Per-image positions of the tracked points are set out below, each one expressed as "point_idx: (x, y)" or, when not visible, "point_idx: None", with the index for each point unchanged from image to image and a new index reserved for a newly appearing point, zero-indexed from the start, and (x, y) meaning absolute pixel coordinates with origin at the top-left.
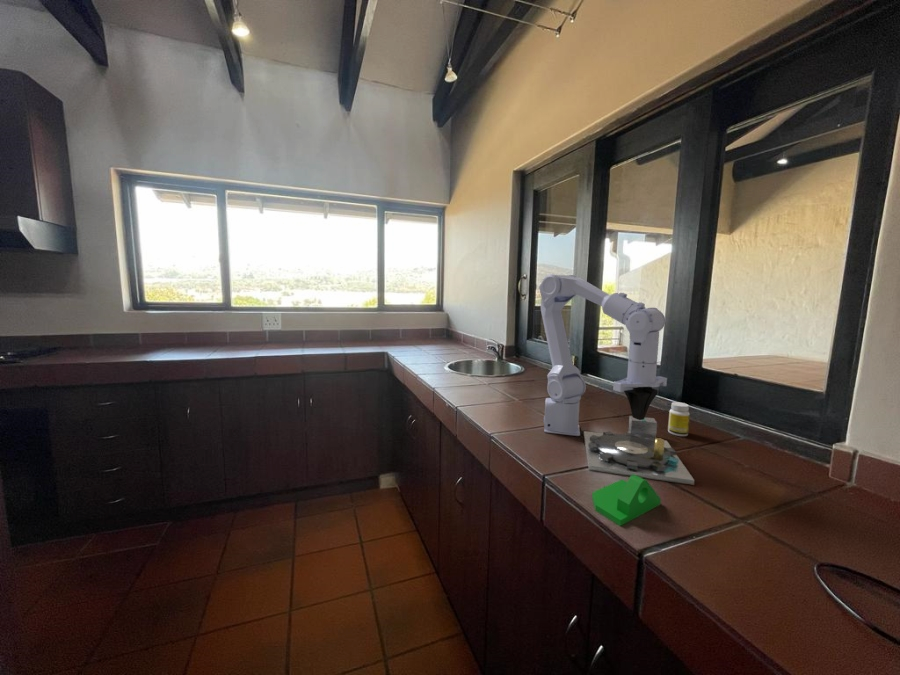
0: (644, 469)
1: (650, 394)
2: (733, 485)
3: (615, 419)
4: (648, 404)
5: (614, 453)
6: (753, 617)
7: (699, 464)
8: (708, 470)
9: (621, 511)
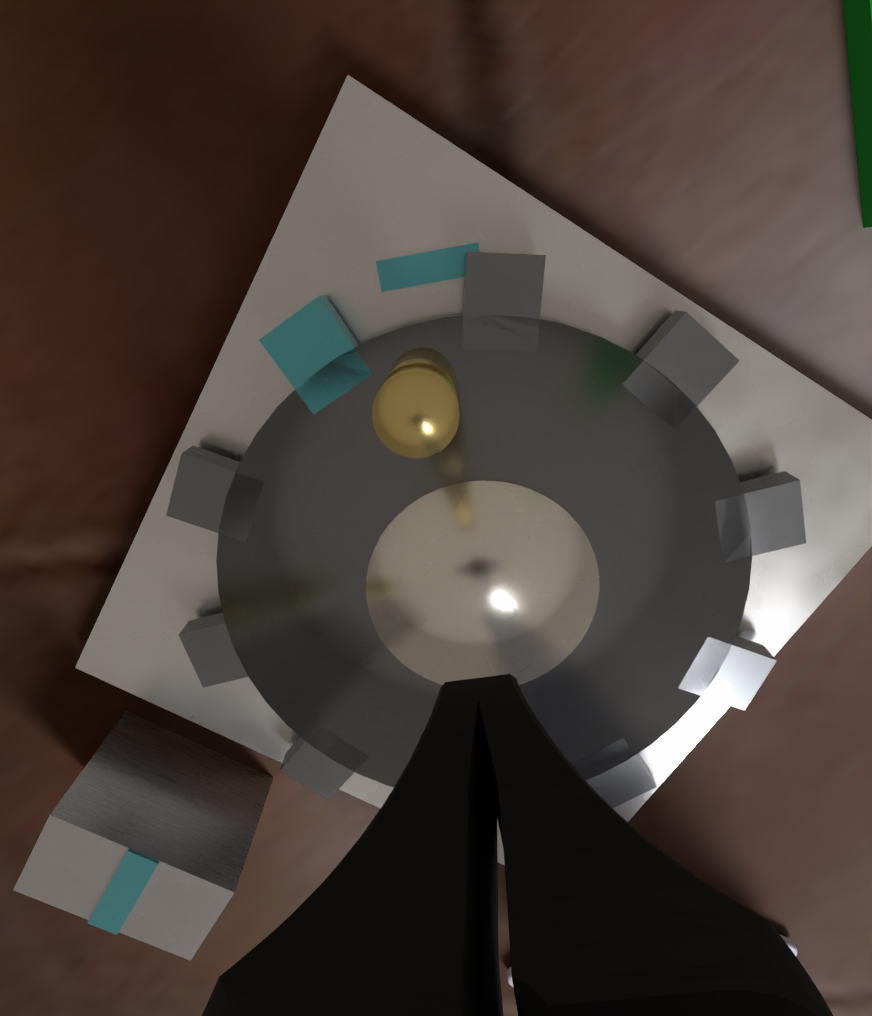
0: (594, 322)
1: (463, 979)
2: (48, 5)
3: (182, 1005)
4: (417, 812)
5: (689, 533)
6: None
7: (68, 348)
8: (68, 255)
9: None
